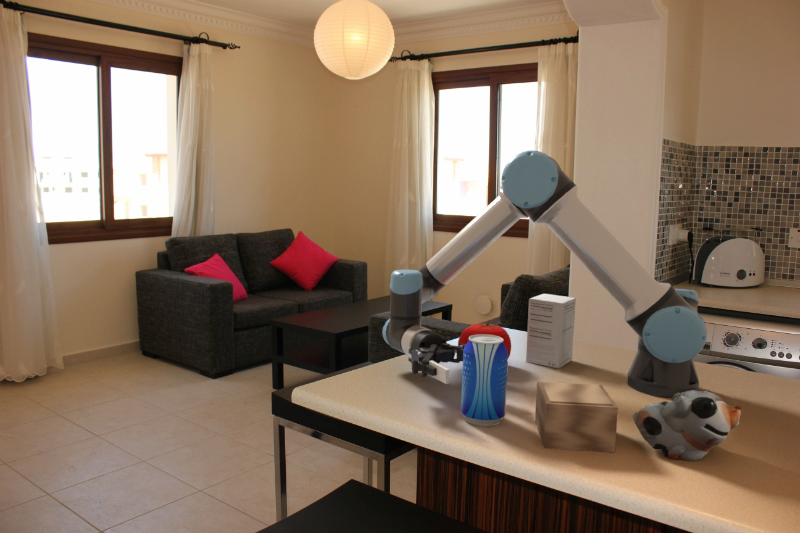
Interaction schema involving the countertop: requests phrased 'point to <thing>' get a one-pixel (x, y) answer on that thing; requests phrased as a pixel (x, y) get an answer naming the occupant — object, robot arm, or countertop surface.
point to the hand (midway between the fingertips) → (477, 372)
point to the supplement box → (550, 330)
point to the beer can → (484, 380)
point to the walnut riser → (575, 417)
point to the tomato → (487, 330)
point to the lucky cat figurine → (687, 424)
